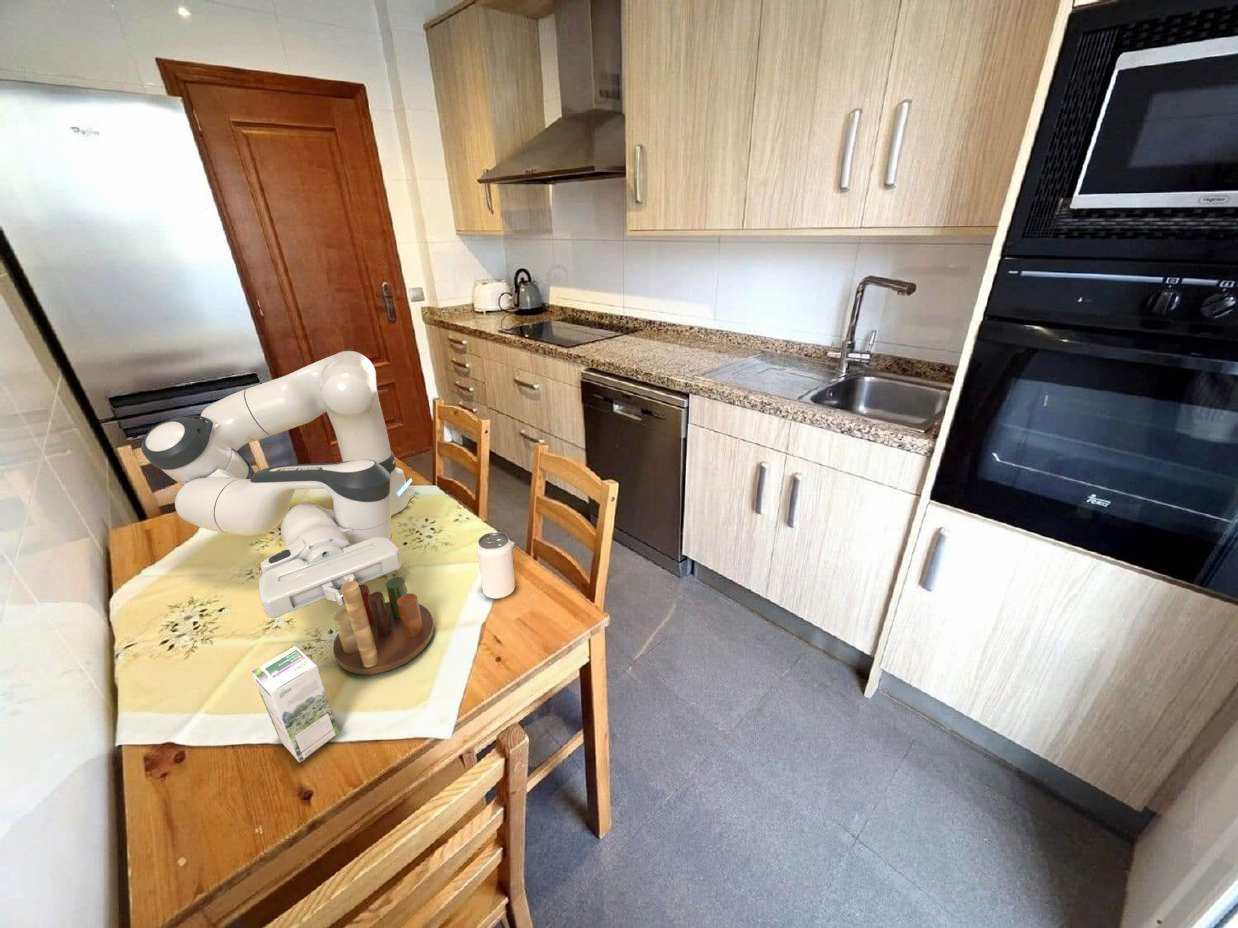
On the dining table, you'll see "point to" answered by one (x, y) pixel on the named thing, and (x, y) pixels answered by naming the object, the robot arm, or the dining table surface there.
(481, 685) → the dining table surface
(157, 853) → the dining table surface
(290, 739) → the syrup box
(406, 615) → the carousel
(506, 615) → the dining table surface
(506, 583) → the can
